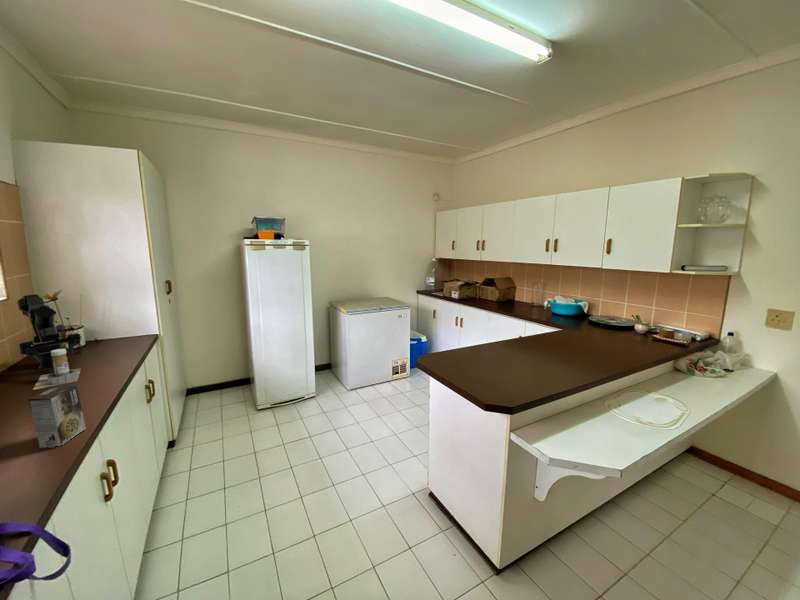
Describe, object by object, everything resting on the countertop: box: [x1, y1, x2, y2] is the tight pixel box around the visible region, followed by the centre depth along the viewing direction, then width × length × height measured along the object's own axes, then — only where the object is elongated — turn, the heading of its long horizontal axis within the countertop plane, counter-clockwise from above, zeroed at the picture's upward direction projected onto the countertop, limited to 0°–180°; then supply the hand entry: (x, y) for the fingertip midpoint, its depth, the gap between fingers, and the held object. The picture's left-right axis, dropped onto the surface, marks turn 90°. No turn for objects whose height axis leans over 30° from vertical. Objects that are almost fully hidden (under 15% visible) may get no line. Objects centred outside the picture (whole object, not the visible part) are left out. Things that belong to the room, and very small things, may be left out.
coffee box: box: [28, 384, 87, 449], centre depth 101 cm, size 9×6×16 cm
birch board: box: [32, 368, 82, 390], centre depth 144 cm, size 18×13×1 cm
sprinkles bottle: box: [51, 348, 70, 377], centre depth 141 cm, size 5×5×13 cm
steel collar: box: [47, 368, 79, 385], centre depth 142 cm, size 9×9×3 cm
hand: (56, 358), depth 144 cm, fingers open, 9 cm apart
